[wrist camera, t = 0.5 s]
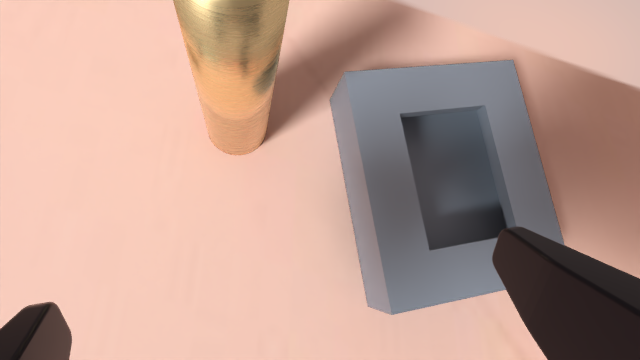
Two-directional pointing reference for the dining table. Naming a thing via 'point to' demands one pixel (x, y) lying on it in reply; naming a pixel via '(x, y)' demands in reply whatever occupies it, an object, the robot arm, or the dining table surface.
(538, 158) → the grey socket block
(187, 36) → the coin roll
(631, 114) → the dining table surface
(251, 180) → the dining table surface
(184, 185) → the dining table surface
